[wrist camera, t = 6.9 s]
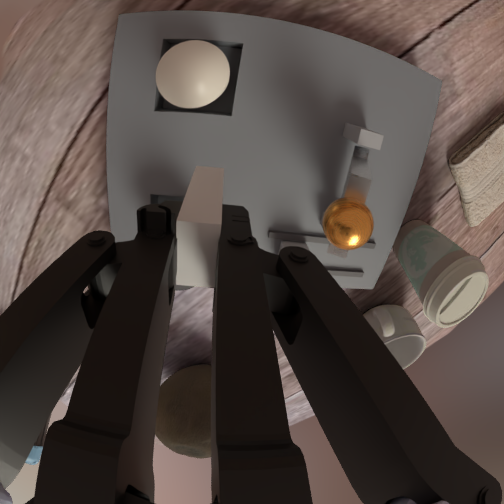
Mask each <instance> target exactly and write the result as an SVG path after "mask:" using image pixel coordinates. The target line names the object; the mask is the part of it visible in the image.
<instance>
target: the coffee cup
mask: <svg viewBox="0 0 504 504" xmlns="http://www.w3.org/2000/svg"><path fill="white" fill-rule="evenodd" d="M393 250H394V253H395V254H396V256H397V258H398V260H399V262H400V263H401V265H402V267H403V269H404V271H405V272H406V274H407V276H408V278H409V280H410V282H411V283H412V285H413V287H414V289H415V291H416V293H417V295H418V297H419V299H420V301H421V303H422V305H423V313H424V315H425V316H426V317H427V318H428V319H429V320H430V321H431V322H434V323H435V324H437V325H438V326H439V327H442V328H447V327H451V326H454V325H456V324H458V323H459V322H461V321H462V320H464V319H465V318H466V317H468V316H469V315H470V314H471V313H472V312H473V311H474V310H475V309H476V307H477V306H478V305H479V303H480V302H481V301H482V299H483V297H484V295H485V293H486V291H487V287H488V276H487V274H486V272H485V268H484V265H483V264H482V263H481V260H480V259H479V258H478V257H476V256H471V255H470V254H469V253H467V252H466V251H465V250H463V249H462V248H461V247H459V246H458V245H457V244H455V243H454V242H453V241H451V240H450V239H449V238H447V237H446V236H444V235H443V234H441V233H440V232H439V231H437V230H436V229H434V228H433V227H431V226H430V225H428V224H427V223H425V222H424V221H422V220H412V221H410V222H408V223H406V224H405V225H404V226H402V227H401V228H400V230H399V232H398V234H397V237H396V239H395V241H394V244H393Z"/></svg>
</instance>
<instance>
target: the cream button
mask: <svg viewBox="0 0 504 504" xmlns="http://www.w3.org/2000/svg"><path fill="white" fill-rule="evenodd" d="M229 77H230V68H229V63H228V60H227V58H226V56H225V55H224V53H223V52H222V51H221V50H220V49H219V48H218V47H216V46H215V45H213V44H211V43H209V42H205V41H200V40H190V41H185V42H182V43H179V44H177V45H175V46H173V47H172V48H171V49H169V50H168V51H167V52H166V53H165V54H164V55H163V57H162V58H161V60H160V61H159V63H158V66H157V69H156V84H157V87H158V90H159V92H160V93H161V95H162V96H163V97H164V98H165V99H166V100H167V101H168V102H170V103H171V104H173V105H175V106H178V107H182V108H198V107H202V106H205V105H207V104H209V103H211V102H213V101H214V100H215V99H217V98H218V97H219V96H220V95H221V94H222V93H223V92H224V91H225V89H226V87H227V85H228V83H229Z"/></svg>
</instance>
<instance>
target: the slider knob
mask: <svg viewBox="0 0 504 504" xmlns="http://www.w3.org/2000/svg"><path fill="white" fill-rule="evenodd" d="M288 246H299V247H302V248H305V249H307V250H309V248H308V246H307V244H306V243H301V242H291V241H281V244H280V249H279V253H280V250H281V249H282V248H284V247H288ZM309 251H310V250H309ZM279 253H278V255H279Z"/></svg>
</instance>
